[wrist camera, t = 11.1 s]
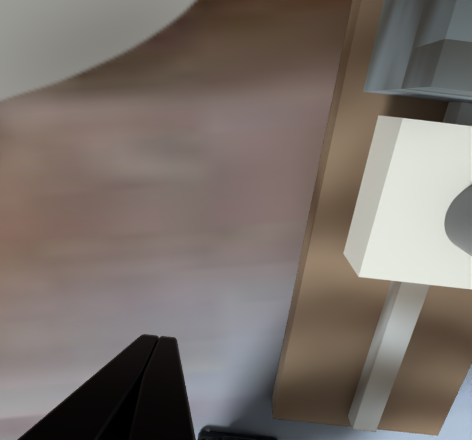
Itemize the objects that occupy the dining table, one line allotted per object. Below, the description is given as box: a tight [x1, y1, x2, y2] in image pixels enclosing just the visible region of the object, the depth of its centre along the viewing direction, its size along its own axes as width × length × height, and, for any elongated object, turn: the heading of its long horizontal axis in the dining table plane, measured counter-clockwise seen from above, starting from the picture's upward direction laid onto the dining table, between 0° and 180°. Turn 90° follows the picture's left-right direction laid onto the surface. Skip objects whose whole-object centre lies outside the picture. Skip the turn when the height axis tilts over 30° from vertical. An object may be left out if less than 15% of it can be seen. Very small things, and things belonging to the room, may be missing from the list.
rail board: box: [271, 0, 472, 436], centre depth 16 cm, size 30×12×8 cm, turn 174°
